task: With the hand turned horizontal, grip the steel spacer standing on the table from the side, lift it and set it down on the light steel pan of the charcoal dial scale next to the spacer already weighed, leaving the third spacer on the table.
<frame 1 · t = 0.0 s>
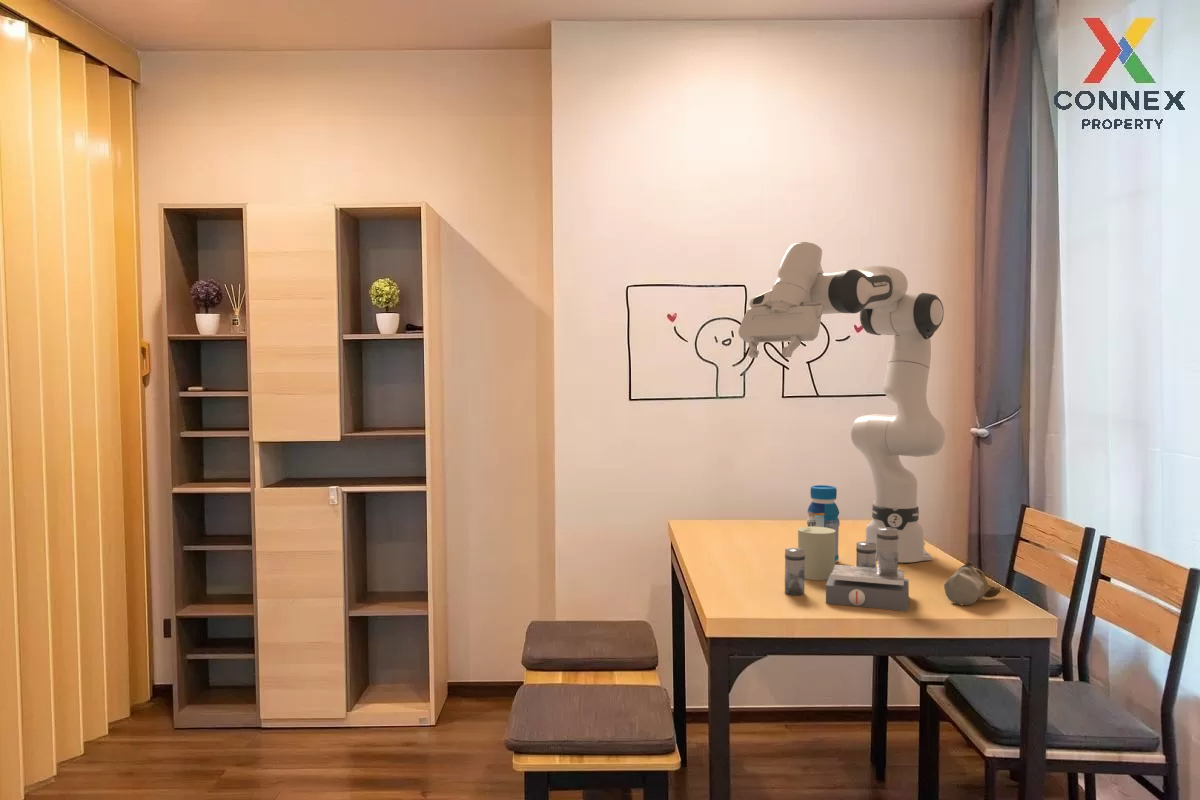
hand: (768, 356, 186), 54 cm above the table, fingers open, 8 cm apart
beverage bottle: (822, 561, 221), on the table
spacer c: (865, 585, 196), on the table
can: (816, 576, 205), on the table
spacer b: (794, 593, 189), on the table
spacer a: (887, 573, 182), point 6 cm above the table, touching scale pan
scale pan: (868, 574, 183), point 6 cm above the table, slide at -0.6 cm, touching spacer a
ceramic sculpture: (968, 601, 183), on the table
scale body: (867, 599, 183), on the table
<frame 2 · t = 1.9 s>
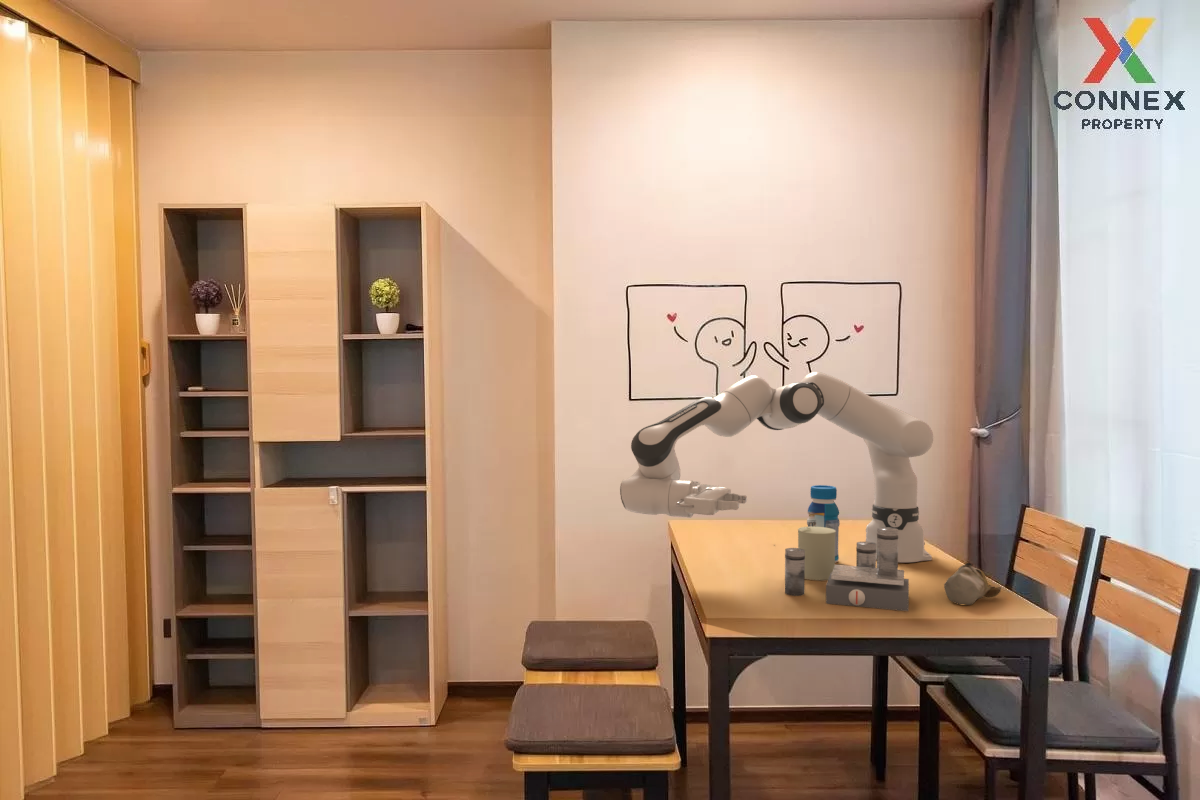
hand: (742, 502, 192), 20 cm above the table, fingers open, 8 cm apart
nothing on the table moved.
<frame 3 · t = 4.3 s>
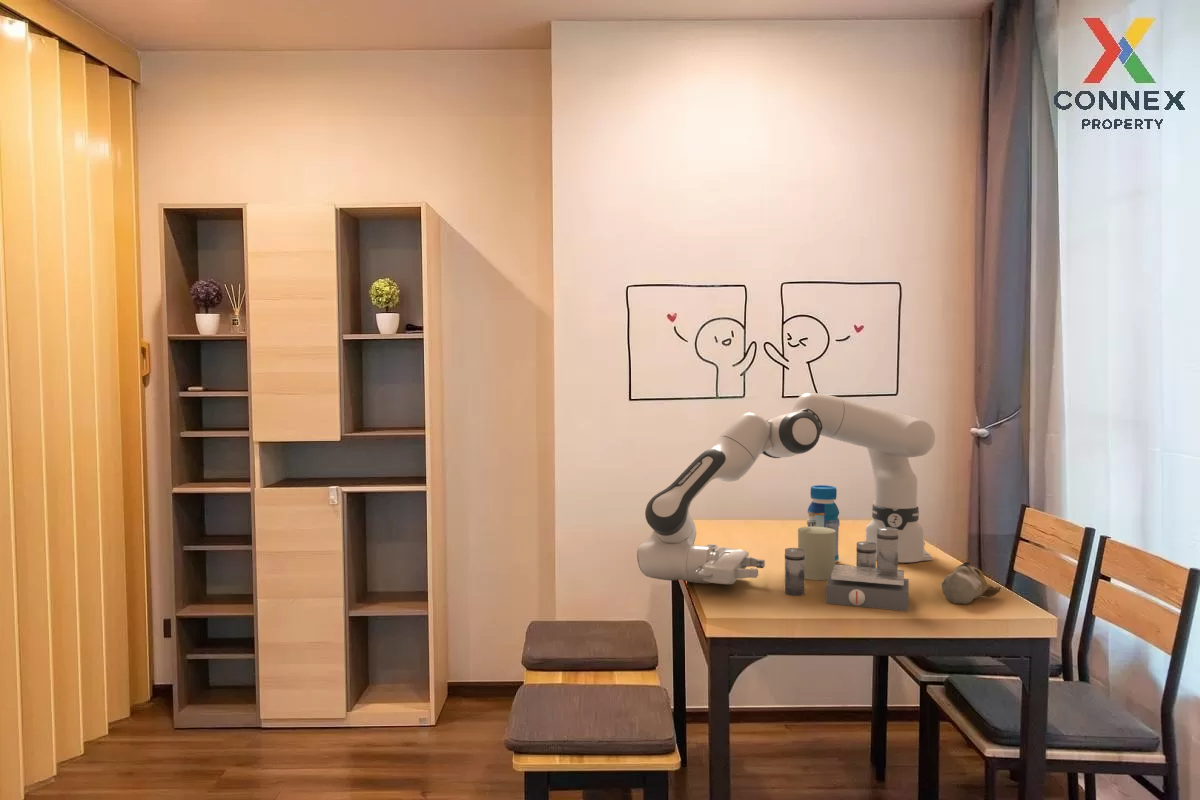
hand: (761, 568, 192), 5 cm above the table, fingers open, 8 cm apart
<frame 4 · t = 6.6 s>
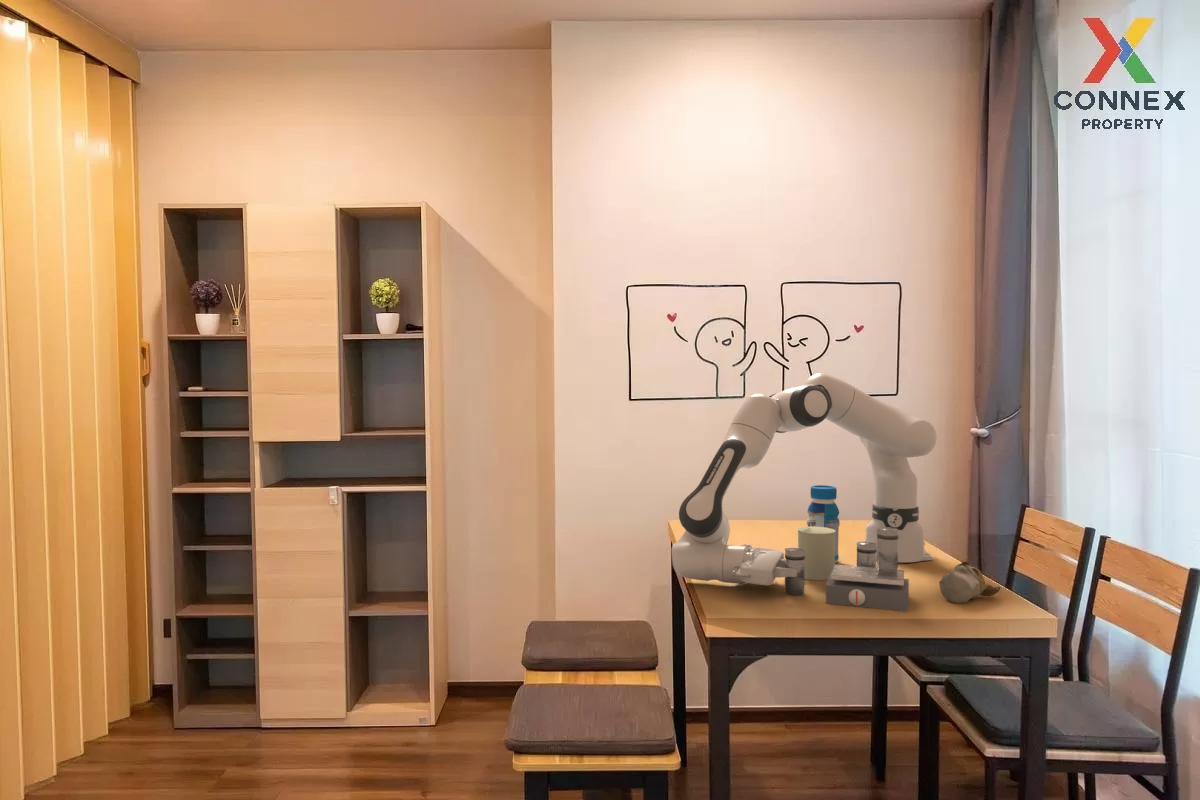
hand: (798, 569, 188), 6 cm above the table, fingers closed on spacer b, 4 cm apart
spacer b: (794, 593, 189), on the table, touching gripper
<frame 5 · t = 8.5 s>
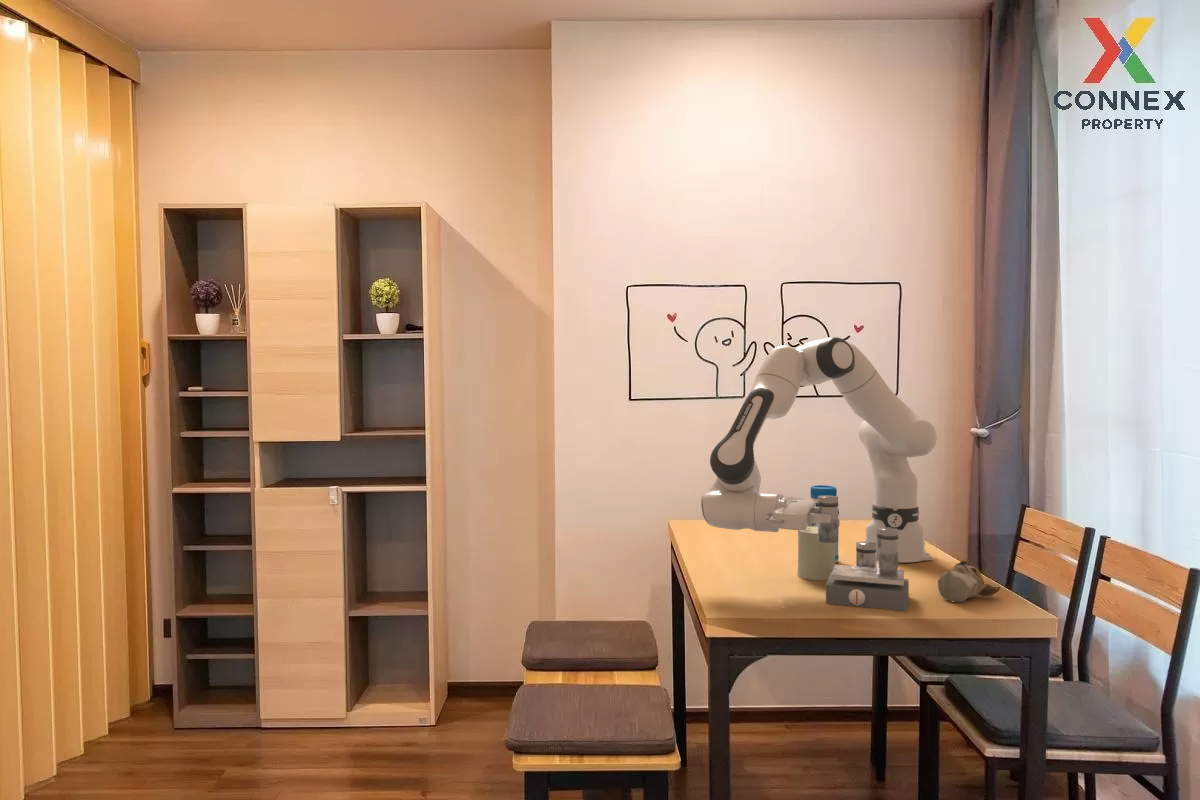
hand: (832, 515, 186), 18 cm above the table, fingers closed on spacer b, 4 cm apart
spacer b: (827, 540, 186), point 13 cm above the table, touching gripper
when the fingers open (12 cm above the table, at t = 10.4 s): spacer b stays where it is, resting on scale pan.
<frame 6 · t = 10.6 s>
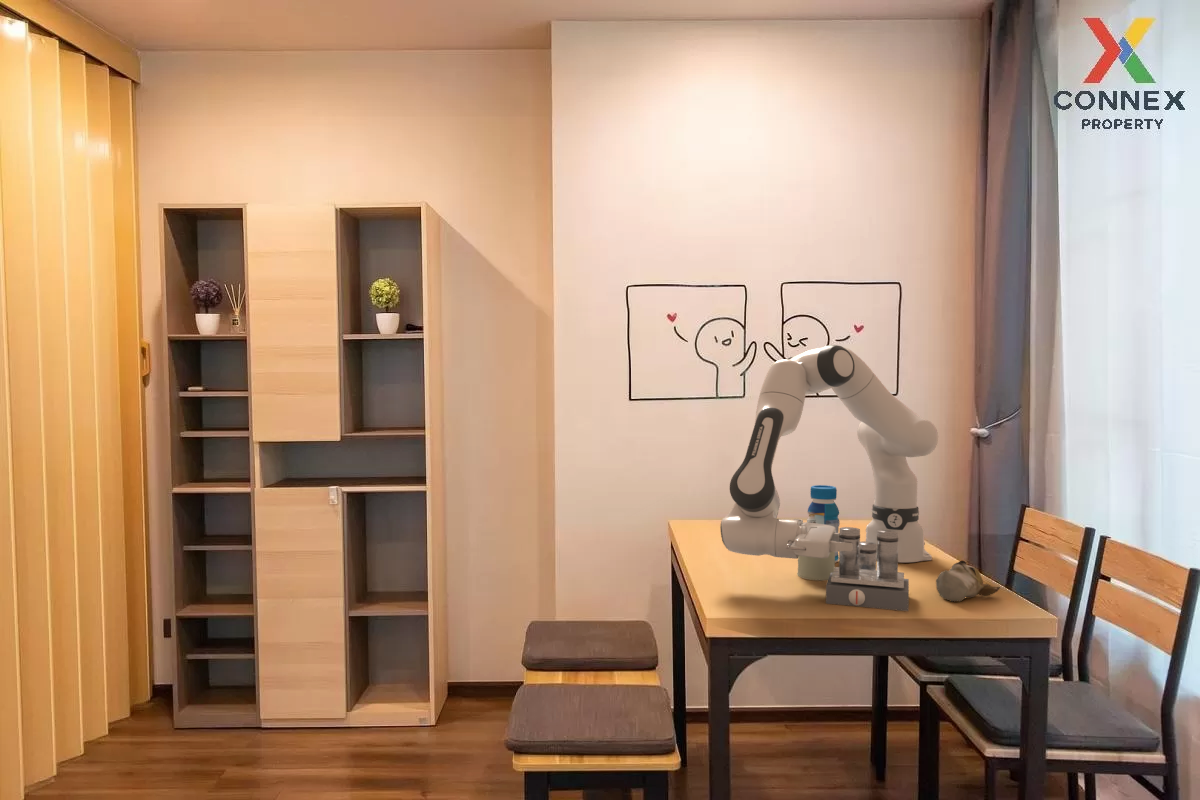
hand: (853, 543, 184), 12 cm above the table, fingers open, 6 cm apart
spacer b: (849, 573, 185), point 6 cm above the table, touching scale pan
scale pan: (868, 577, 183), point 5 cm above the table, slide at -1.2 cm, touching spacer a, spacer b
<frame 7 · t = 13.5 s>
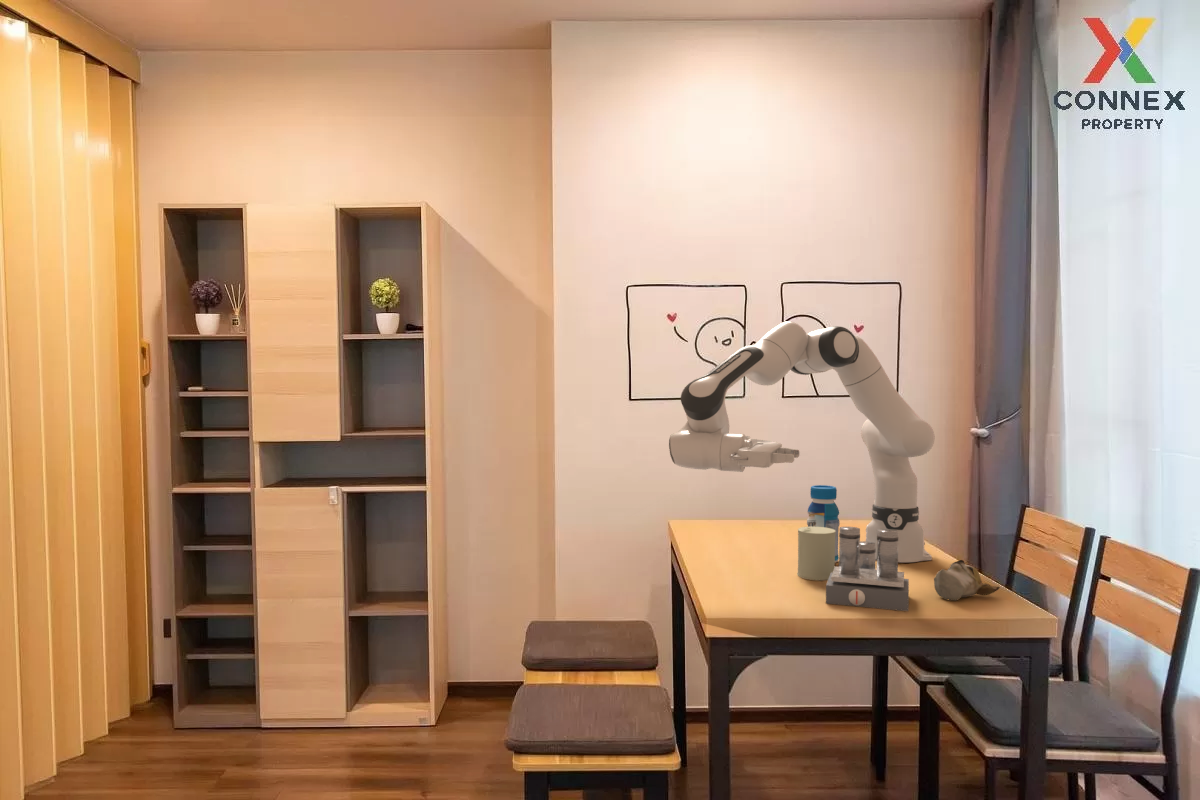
hand: (796, 456, 188), 32 cm above the table, fingers open, 8 cm apart
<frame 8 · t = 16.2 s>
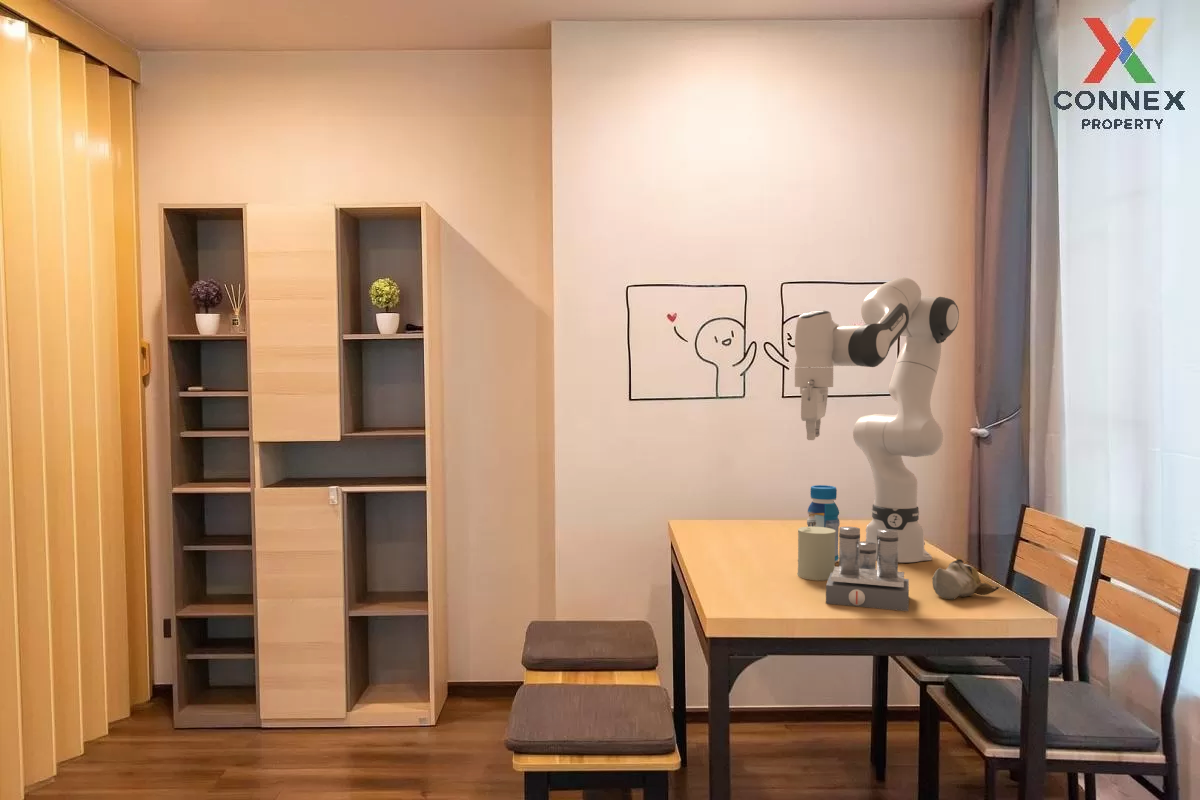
hand: (813, 438, 194), 35 cm above the table, fingers open, 8 cm apart
at the end: spacer b inside the target area on the scale pan (0.0 cm from its centre), point 6.8 cm above the scale pan's base; spacer b tilted 0°; spacer a moved 1.0 cm from its start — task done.
